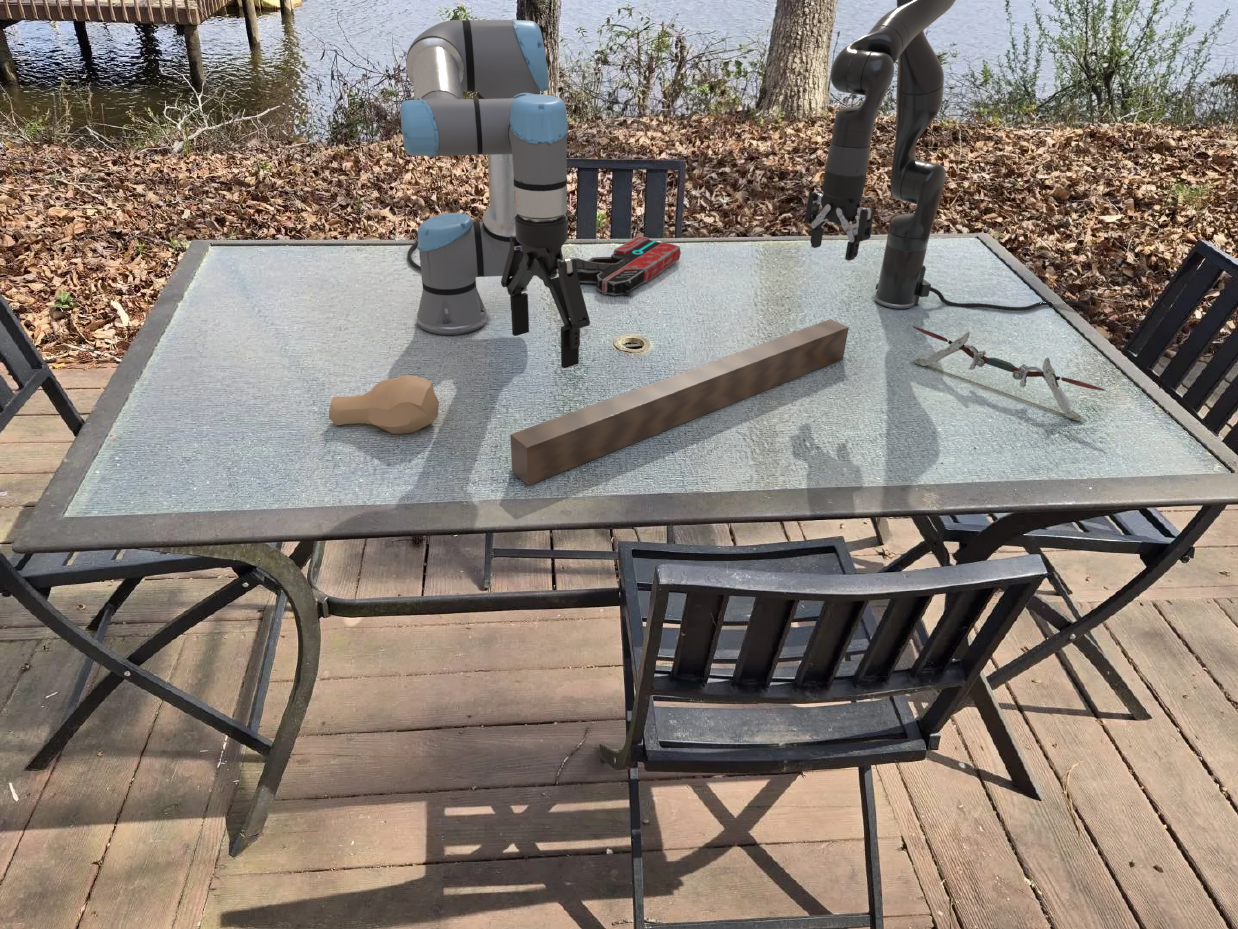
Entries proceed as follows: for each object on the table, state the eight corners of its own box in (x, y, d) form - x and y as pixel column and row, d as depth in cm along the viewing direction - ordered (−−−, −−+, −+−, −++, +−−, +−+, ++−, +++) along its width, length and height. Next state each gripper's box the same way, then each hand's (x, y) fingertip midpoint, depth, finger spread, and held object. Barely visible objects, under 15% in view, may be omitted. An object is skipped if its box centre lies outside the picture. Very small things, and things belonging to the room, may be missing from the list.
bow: (1094, 423, 166) (1111, 376, 160) (1090, 426, 165) (1108, 379, 159) (907, 357, 187) (917, 313, 182) (903, 359, 186) (913, 316, 181)
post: (528, 485, 145) (526, 447, 140) (512, 472, 148) (510, 434, 144) (842, 359, 186) (849, 327, 182) (824, 350, 189) (830, 318, 185)
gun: (556, 265, 215) (624, 284, 207) (621, 228, 237) (685, 244, 229) (556, 282, 217) (623, 301, 209) (620, 244, 239) (683, 260, 231)
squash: (439, 440, 156) (426, 401, 150) (330, 449, 157) (313, 410, 151) (448, 401, 164) (436, 363, 157) (344, 410, 165) (328, 372, 159)
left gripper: (616, 233, 118) (612, 372, 130) (516, 187, 135) (521, 315, 146) (570, 244, 115) (571, 386, 126) (473, 196, 131) (482, 326, 142)
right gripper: (890, 174, 160) (873, 260, 169) (830, 157, 169) (817, 239, 178) (864, 181, 156) (848, 268, 165) (803, 162, 165) (792, 246, 174)
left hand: (544, 349), depth 136 cm, fingers open, 13 cm apart
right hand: (832, 253), depth 171 cm, fingers open, 8 cm apart
